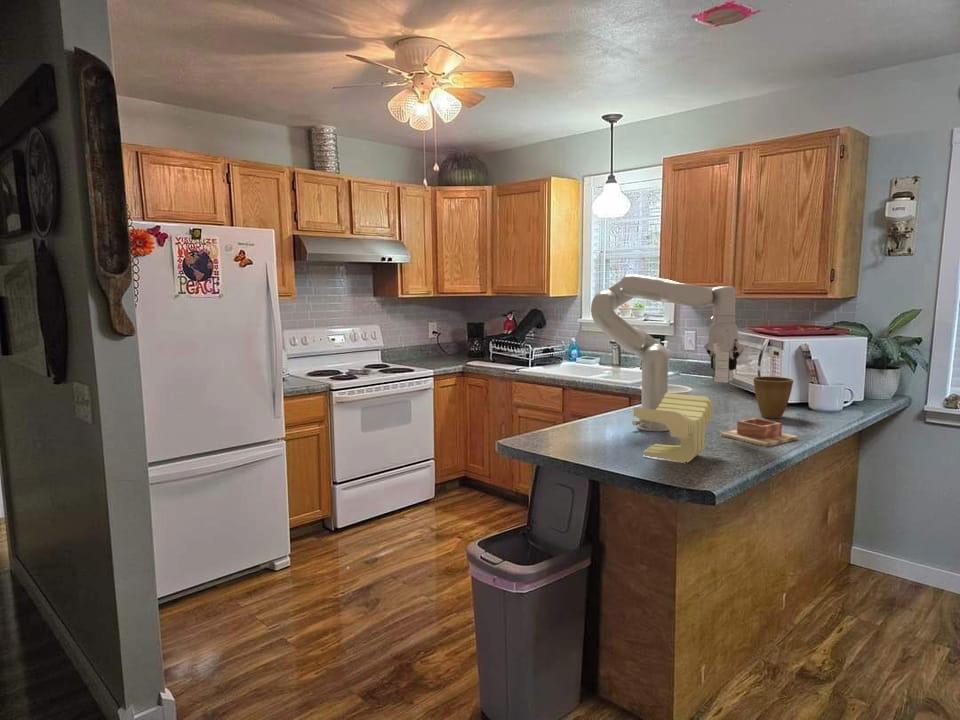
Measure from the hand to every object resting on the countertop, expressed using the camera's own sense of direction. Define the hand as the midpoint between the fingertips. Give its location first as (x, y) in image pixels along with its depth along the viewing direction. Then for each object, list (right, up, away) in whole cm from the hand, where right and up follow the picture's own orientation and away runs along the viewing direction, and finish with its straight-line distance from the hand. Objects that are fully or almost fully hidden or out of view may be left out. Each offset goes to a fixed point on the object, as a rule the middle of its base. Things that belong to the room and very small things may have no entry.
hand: (723, 368), depth 223 cm
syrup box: (0, -5, +1) cm, 5 cm away
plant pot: (+32, -21, +29) cm, 48 cm away
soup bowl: (-2, -17, +64) cm, 66 cm away
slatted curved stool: (-27, -28, -28) cm, 48 cm away
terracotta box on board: (+11, -25, -5) cm, 27 cm away
